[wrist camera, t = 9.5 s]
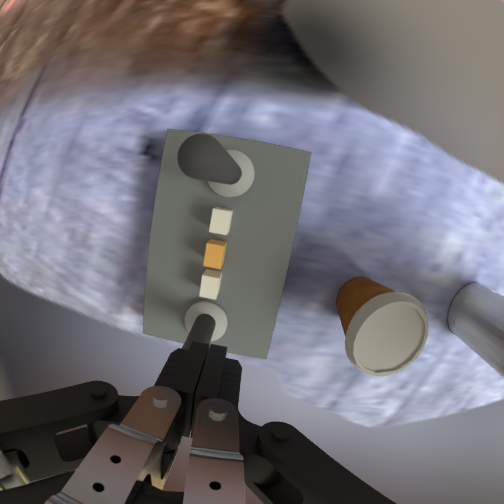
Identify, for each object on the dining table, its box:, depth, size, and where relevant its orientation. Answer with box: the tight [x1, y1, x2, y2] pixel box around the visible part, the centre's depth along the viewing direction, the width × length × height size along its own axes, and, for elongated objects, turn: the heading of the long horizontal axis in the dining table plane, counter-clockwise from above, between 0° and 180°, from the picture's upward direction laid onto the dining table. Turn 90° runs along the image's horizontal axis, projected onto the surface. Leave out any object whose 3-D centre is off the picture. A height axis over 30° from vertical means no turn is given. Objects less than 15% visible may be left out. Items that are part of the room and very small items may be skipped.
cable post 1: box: [177, 134, 255, 197], centre depth 23 cm, size 5×5×17 cm
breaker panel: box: [143, 129, 311, 359], centre depth 34 cm, size 16×25×7 cm, turn 169°
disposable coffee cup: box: [336, 277, 428, 376], centre depth 32 cm, size 10×10×12 cm
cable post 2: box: [182, 300, 228, 350], centre depth 26 cm, size 5×5×17 cm
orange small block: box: [203, 239, 227, 269], centre depth 31 cm, size 2×2×3 cm
